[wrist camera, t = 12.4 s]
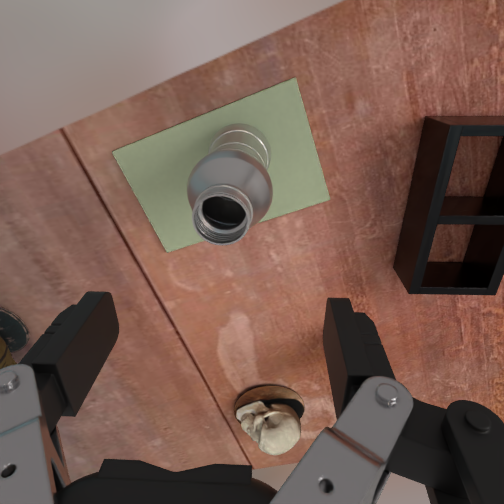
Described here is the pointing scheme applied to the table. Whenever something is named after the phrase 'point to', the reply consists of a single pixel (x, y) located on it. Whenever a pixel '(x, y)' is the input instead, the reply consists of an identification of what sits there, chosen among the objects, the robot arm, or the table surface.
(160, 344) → the table surface
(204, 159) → the silver water bottle
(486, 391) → the table surface
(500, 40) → the table surface
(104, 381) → the table surface
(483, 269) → the bottle rack
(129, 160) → the mat
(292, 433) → the skull
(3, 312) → the teapot
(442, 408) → the robot arm
